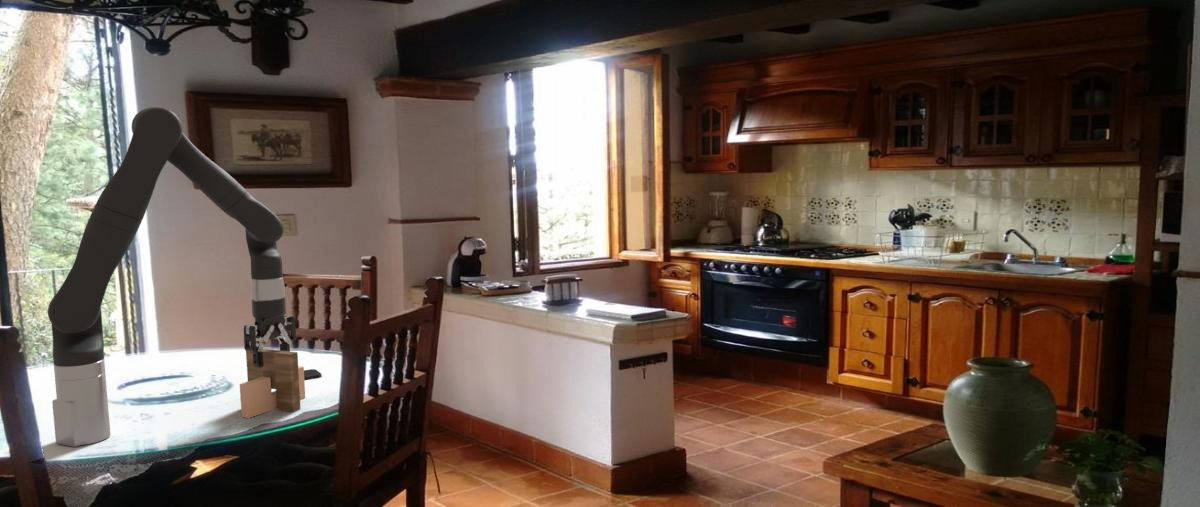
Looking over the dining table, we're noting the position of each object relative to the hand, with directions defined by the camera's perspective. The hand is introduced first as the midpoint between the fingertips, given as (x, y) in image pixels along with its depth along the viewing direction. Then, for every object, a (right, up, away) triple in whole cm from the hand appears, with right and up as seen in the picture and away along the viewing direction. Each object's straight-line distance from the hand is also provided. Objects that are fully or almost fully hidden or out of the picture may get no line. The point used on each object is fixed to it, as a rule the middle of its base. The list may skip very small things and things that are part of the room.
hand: (272, 362), depth 199 cm
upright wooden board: (0, -11, +1) cm, 11 cm away
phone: (-6, -9, +28) cm, 30 cm away
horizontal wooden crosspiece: (0, -11, +1) cm, 11 cm away
